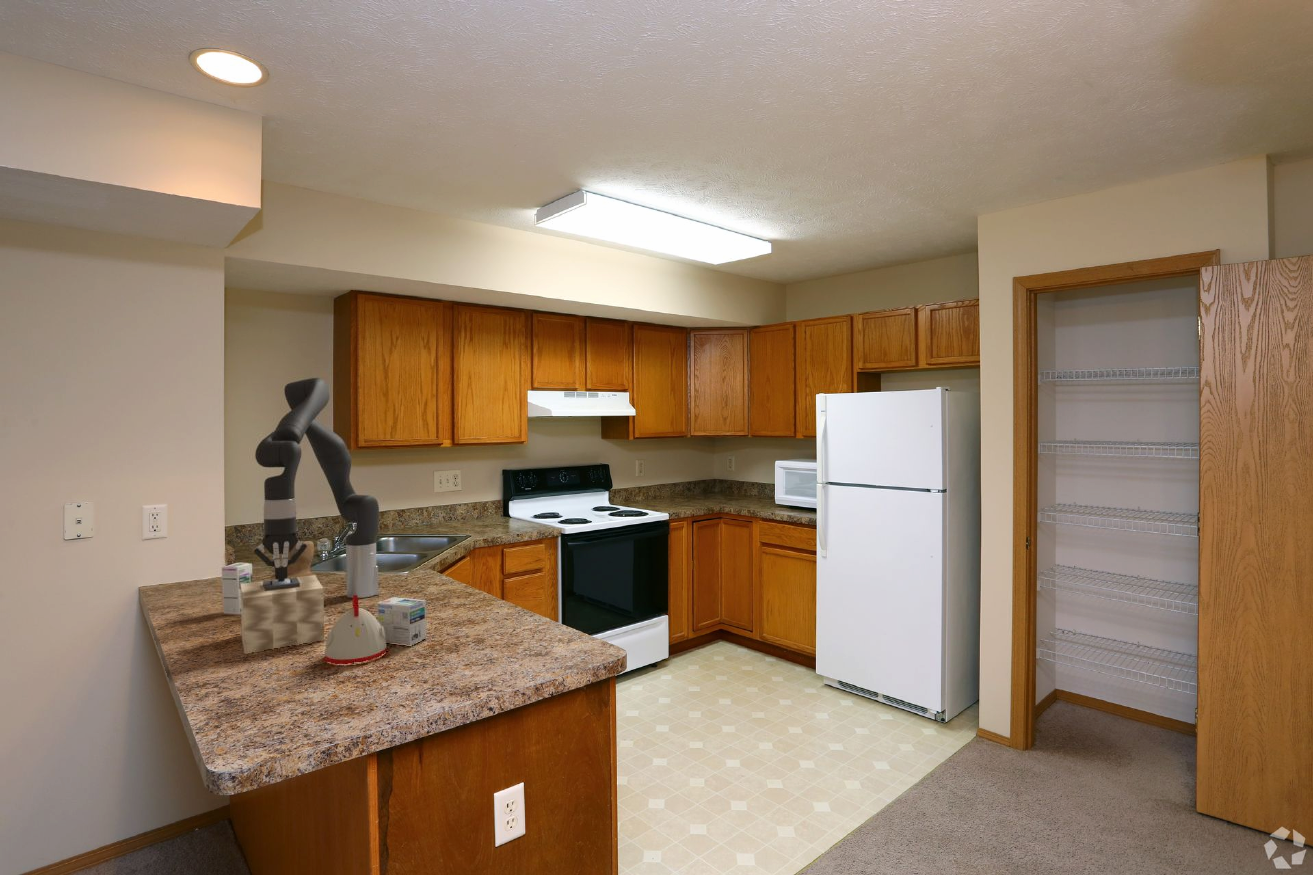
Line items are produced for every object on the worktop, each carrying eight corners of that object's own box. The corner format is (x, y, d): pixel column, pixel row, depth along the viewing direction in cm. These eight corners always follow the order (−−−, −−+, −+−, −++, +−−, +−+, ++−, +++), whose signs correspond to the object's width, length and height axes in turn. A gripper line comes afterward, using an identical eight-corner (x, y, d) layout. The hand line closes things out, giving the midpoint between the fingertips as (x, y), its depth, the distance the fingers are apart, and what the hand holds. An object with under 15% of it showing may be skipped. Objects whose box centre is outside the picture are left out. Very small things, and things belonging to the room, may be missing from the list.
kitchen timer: (325, 670, 158) (324, 606, 157) (324, 652, 170) (323, 592, 169) (389, 660, 164) (388, 598, 164) (383, 643, 176) (382, 586, 176)
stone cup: (316, 576, 253) (315, 536, 253) (318, 582, 243) (317, 541, 243) (269, 581, 246) (268, 540, 245) (269, 588, 235) (269, 545, 235)
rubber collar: (296, 580, 186) (296, 577, 186) (299, 586, 179) (299, 582, 179) (263, 584, 182) (263, 581, 182) (265, 591, 175) (265, 587, 175)
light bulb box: (427, 639, 179) (427, 599, 179) (410, 647, 173) (409, 605, 173) (394, 635, 183) (393, 595, 182) (376, 643, 176) (375, 602, 176)
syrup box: (239, 614, 203) (238, 566, 202) (222, 613, 204) (221, 565, 204) (254, 609, 208) (253, 562, 208) (237, 608, 210) (236, 562, 209)
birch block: (315, 623, 193) (314, 575, 193) (324, 640, 178) (323, 587, 178) (241, 634, 184) (240, 583, 183) (244, 653, 169) (243, 598, 168)
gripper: (306, 512, 187) (307, 574, 187) (250, 516, 180) (251, 581, 180) (309, 515, 181) (310, 580, 181) (251, 519, 173) (253, 587, 174)
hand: (281, 580), depth 181 cm, fingers closed
